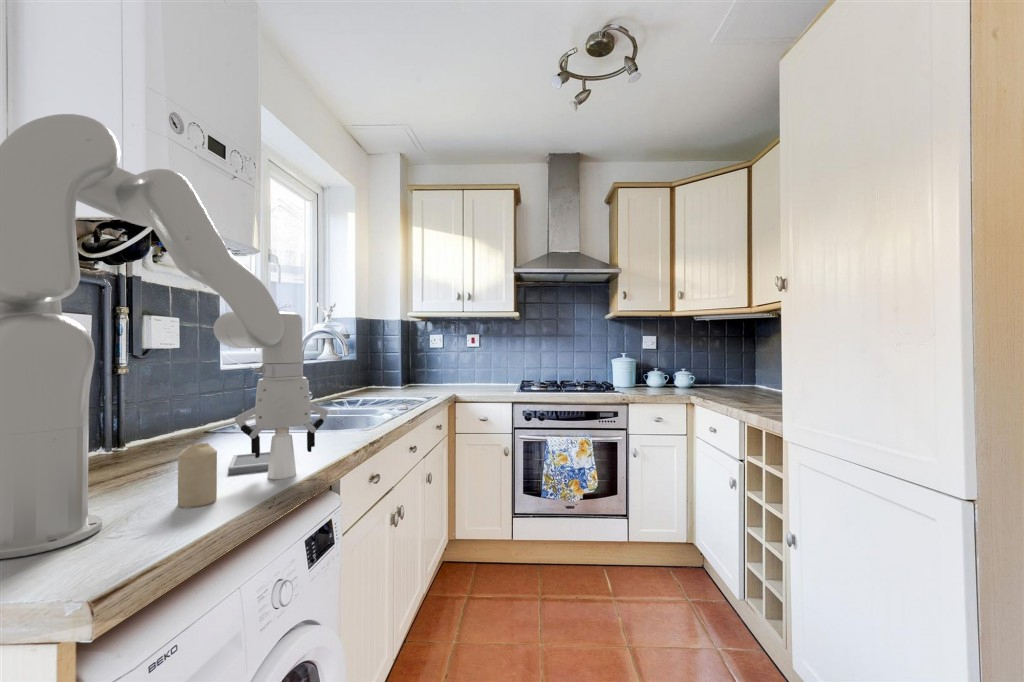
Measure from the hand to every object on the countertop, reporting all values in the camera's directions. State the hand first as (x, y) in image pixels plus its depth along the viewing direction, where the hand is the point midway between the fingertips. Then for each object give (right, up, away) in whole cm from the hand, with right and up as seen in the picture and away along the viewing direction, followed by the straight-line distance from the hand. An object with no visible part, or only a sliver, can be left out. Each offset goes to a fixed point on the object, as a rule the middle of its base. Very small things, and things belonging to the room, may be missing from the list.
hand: (284, 453), depth 94 cm
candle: (-7, -5, -16) cm, 18 cm away
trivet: (-9, -5, +8) cm, 13 cm away
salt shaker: (0, -5, 0) cm, 5 cm away
